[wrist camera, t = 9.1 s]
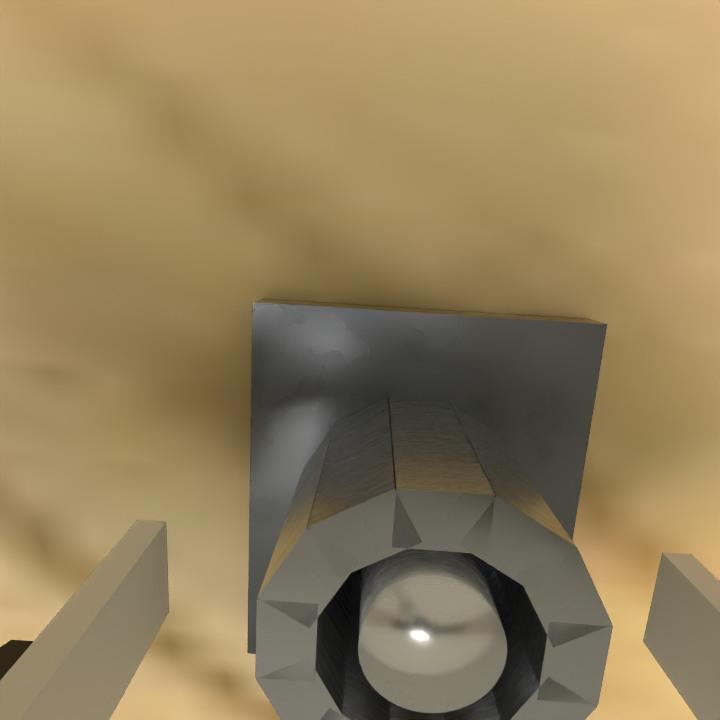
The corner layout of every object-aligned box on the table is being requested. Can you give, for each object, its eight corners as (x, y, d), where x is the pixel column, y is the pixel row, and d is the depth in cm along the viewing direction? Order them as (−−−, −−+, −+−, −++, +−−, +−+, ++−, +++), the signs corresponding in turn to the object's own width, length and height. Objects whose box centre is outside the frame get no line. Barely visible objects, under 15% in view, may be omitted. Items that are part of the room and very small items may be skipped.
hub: (305, 391, 17) (258, 478, 11) (533, 407, 17) (635, 505, 10) (298, 591, 19) (253, 778, 12) (506, 607, 19) (578, 805, 12)
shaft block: (262, 298, 18) (167, 332, 10) (588, 319, 18) (767, 371, 10) (256, 625, 21) (178, 863, 13) (537, 647, 21) (643, 904, 13)
